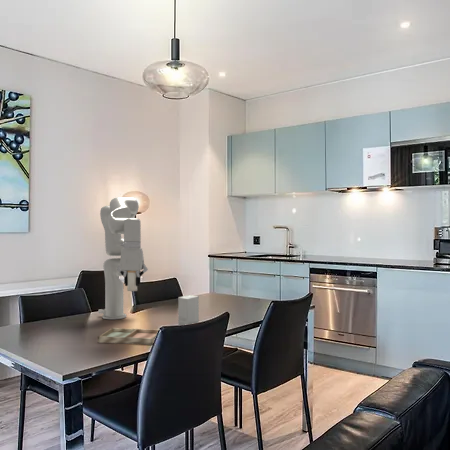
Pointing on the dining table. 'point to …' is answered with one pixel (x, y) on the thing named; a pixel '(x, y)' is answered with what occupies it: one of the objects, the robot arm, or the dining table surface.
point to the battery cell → (131, 281)
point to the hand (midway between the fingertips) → (132, 285)
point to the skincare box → (188, 309)
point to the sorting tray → (128, 336)
